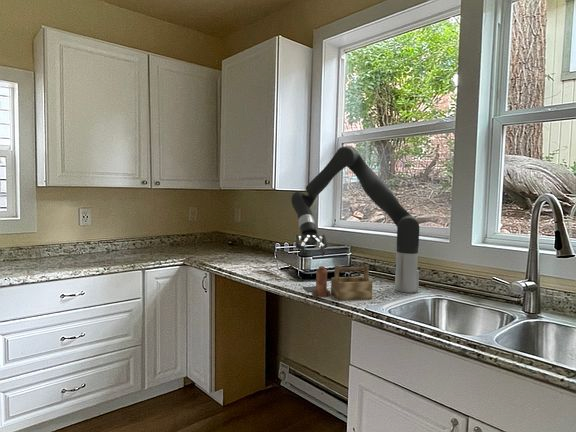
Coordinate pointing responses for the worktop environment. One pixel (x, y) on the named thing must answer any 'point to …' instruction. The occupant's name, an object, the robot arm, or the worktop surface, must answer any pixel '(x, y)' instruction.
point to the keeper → (317, 293)
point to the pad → (310, 288)
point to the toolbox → (351, 284)
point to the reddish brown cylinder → (321, 281)
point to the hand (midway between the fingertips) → (313, 254)
